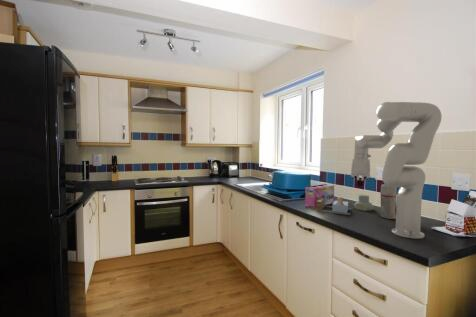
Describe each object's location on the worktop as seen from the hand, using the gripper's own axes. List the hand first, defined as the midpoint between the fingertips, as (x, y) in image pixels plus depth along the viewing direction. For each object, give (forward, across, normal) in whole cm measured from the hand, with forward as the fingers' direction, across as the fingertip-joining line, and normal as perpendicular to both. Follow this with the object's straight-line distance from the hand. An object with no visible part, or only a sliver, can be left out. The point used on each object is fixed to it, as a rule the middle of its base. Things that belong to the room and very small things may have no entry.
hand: (360, 186), depth 154 cm
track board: (+16, +14, +4) cm, 22 cm away
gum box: (+17, +25, -11) cm, 32 cm away
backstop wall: (+16, +22, +4) cm, 28 cm away
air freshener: (+17, -2, -9) cm, 19 cm away
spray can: (+16, -15, +2) cm, 23 cm away
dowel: (+15, +10, +7) cm, 20 cm away
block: (+15, +10, +4) cm, 19 cm away
